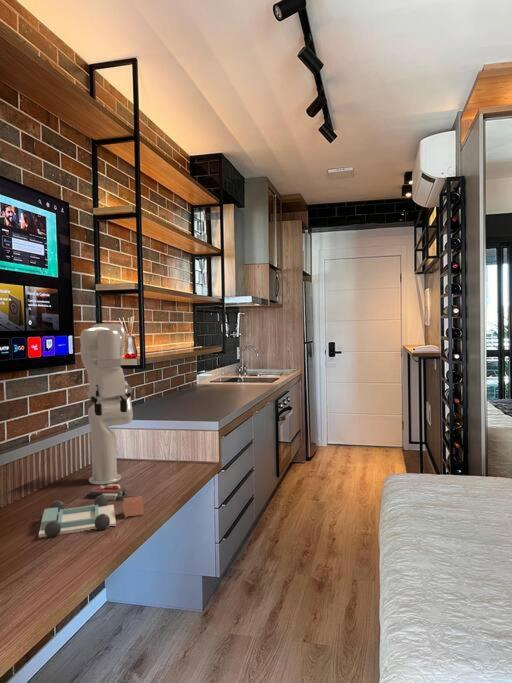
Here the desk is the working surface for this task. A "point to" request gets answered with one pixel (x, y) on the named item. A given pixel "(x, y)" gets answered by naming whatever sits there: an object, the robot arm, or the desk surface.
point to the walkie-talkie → (109, 492)
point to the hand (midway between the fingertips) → (111, 413)
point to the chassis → (77, 518)
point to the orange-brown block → (133, 506)
